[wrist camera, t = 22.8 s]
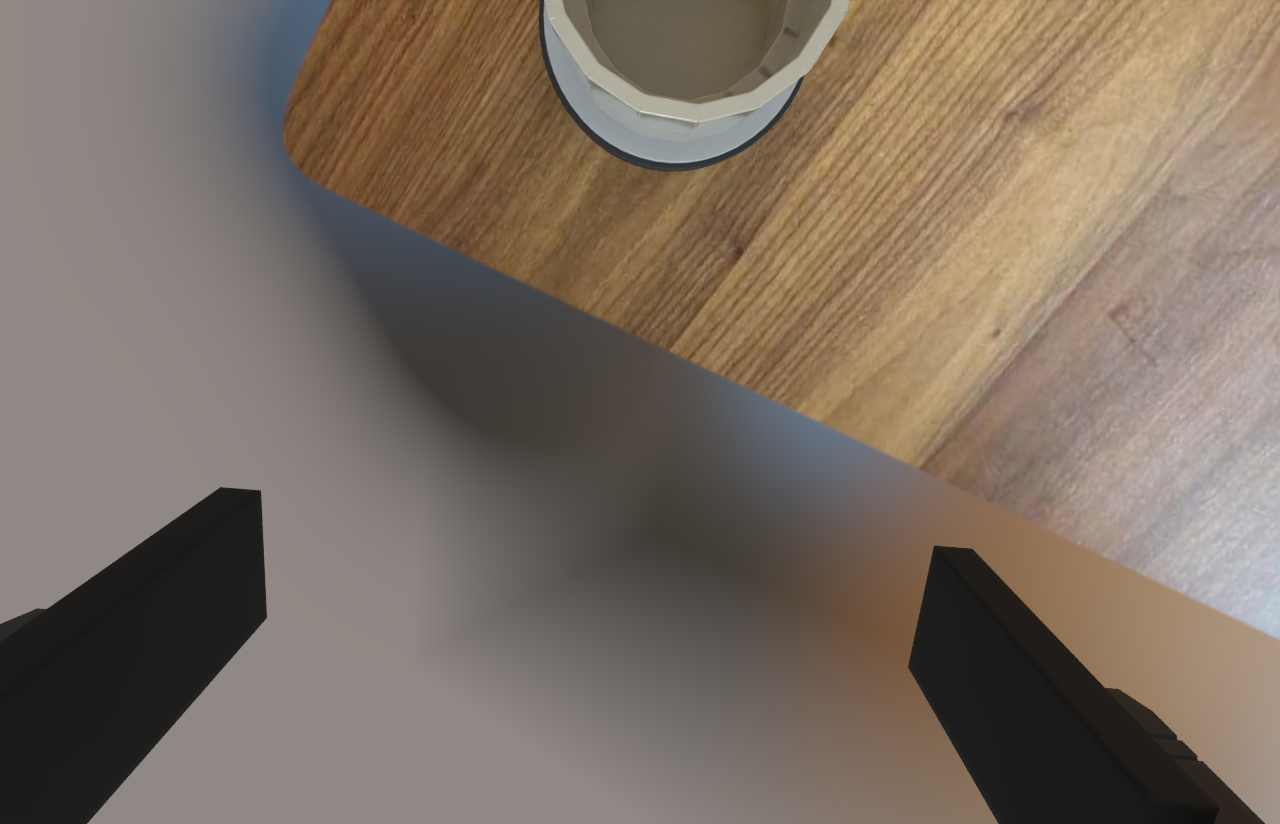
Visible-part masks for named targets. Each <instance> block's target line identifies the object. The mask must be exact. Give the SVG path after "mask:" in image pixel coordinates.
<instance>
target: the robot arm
mask: <svg viewBox="0 0 1280 824" xmlns="http://www.w3.org/2000/svg"><path fill="white" fill-rule="evenodd" d="M266 611H267V610H266V589H265V568H264V546H263V525H262V503H261V491H259V490H246V489H235V488H223V487H220V488H219V489H217V490H216V491H215V492H213V493H212V494H210V495H209V496H208V497H206V498H205V499H203V500H202V501H200V502H199V503H198V504H196V505H195V506H193V507H192V508H190V509H189V510H187V511H186V512H185V513H183V514H182V515H180V516H179V517H178V518H176V519H175V520H173V521H172V522H170V523H169V524H168V525H166V526H165V527H163V528H162V529H160V530H159V531H158V532H156V533H155V534H153V535H152V536H150V537H149V538H148V539H146V540H145V541H143V542H142V543H141V544H139V545H138V546H136V547H135V548H134V549H132V550H131V551H129V552H128V553H126V554H125V555H124V556H122V557H121V558H119V559H118V560H116V561H115V562H114V563H112V564H111V565H109V566H108V567H106V568H105V569H103V570H102V571H101V572H99V573H98V574H97V575H95V576H94V577H92V578H91V579H89V580H88V581H86V582H85V583H84V584H82V585H81V586H79V587H78V588H76V589H75V590H74V591H72V592H71V593H70V594H68V595H66V596H65V597H64V598H62V599H61V600H59V601H58V602H57V603H55V604H54V605H52V606H51V607H49V608H48V609H35V610H33V611H30V612H28V613H26V614H23V615H21V616H18V617H16V618H14V619H11V620H9V621H7V622H4V623H2V624H0V824H87V823H88V822H89V821H90V820H91V818H92V817H93V816H94V815H95V814H96V813H97V812H98V810H99V809H100V808H101V807H102V806H103V805H104V803H106V801H107V800H108V799H109V798H110V797H111V796H112V794H113V793H114V792H115V791H116V790H117V788H119V787H120V785H121V784H122V783H123V782H124V781H125V780H126V778H127V777H128V776H129V775H130V774H131V773H132V772H133V770H134V769H135V768H136V767H137V766H138V765H139V764H140V762H141V761H142V760H143V759H144V758H145V757H146V756H147V754H148V753H149V752H150V751H151V750H152V749H153V748H154V746H155V745H156V744H157V743H158V742H159V741H160V740H161V738H162V737H163V736H164V735H165V734H166V733H167V732H168V730H169V729H170V728H171V727H172V726H173V725H174V724H175V722H176V721H177V720H178V719H179V718H180V717H181V716H182V714H183V713H184V712H185V711H186V710H187V709H188V707H189V706H190V705H191V704H192V703H193V702H194V701H195V700H196V698H197V697H198V696H199V695H200V694H201V693H202V691H203V690H204V689H205V688H206V687H207V686H208V685H209V683H210V682H211V681H212V680H213V679H214V678H215V677H216V675H217V674H218V673H219V672H220V670H222V669H223V667H224V666H225V665H226V664H227V663H228V662H229V661H230V659H231V658H232V657H233V656H234V655H235V654H236V653H237V651H238V650H239V649H240V648H241V647H242V645H244V643H245V642H246V641H247V640H248V639H249V638H250V636H251V635H252V634H253V633H254V632H255V631H256V630H257V628H258V627H259V626H260V625H261V624H262V623H263V622H264V621H265V619H266V618H267V612H266ZM908 668H909V670H910V671H911V673H912V675H913V676H914V678H915V680H916V681H917V683H918V685H919V687H920V688H921V690H922V692H923V693H924V695H925V697H926V699H927V701H928V702H929V704H930V706H931V708H932V709H933V711H934V713H935V714H936V716H937V718H938V720H939V721H940V723H941V725H942V727H943V728H944V730H945V732H946V734H947V735H948V737H949V739H950V740H951V742H952V744H953V746H954V747H955V749H956V751H957V753H958V754H959V756H960V758H961V759H962V761H963V763H964V765H965V766H966V768H967V770H968V772H969V773H970V775H971V777H972V778H973V780H974V782H975V784H976V785H977V787H978V788H979V790H980V792H981V794H982V796H983V798H984V799H985V801H986V803H987V804H988V806H989V808H990V810H991V811H992V813H993V815H994V817H995V818H996V820H997V822H998V823H999V824H1265V823H1264V822H1263V821H1262V820H1261V819H1260V818H1259V817H1258V816H1257V815H1256V814H1255V813H1254V812H1253V811H1252V810H1251V809H1250V808H1249V807H1248V806H1247V805H1246V804H1245V803H1244V802H1243V801H1242V800H1241V799H1240V798H1239V797H1238V796H1237V795H1236V794H1235V793H1234V792H1233V791H1232V790H1231V789H1230V788H1229V787H1227V785H1226V784H1225V783H1224V782H1223V781H1222V780H1221V779H1220V778H1219V777H1218V776H1217V775H1216V774H1215V773H1214V772H1213V771H1212V770H1211V769H1209V767H1207V765H1206V764H1205V763H1204V762H1203V761H1198V759H1197V755H1196V754H1195V753H1194V752H1193V751H1192V750H1190V748H1189V747H1188V746H1187V745H1186V744H1185V743H1184V742H1182V741H1180V740H1177V735H1176V734H1175V733H1174V732H1172V731H1171V729H1170V728H1169V727H1168V726H1167V725H1165V724H1164V722H1163V721H1162V720H1161V719H1159V717H1157V715H1156V714H1155V713H1154V712H1153V711H1151V710H1150V709H1148V708H1147V707H1145V706H1144V705H1142V704H1141V703H1139V702H1137V701H1136V700H1134V699H1133V698H1131V697H1130V696H1128V695H1127V694H1125V693H1124V692H1122V691H1121V690H1119V689H1112V688H1104V687H1103V685H1101V683H1100V682H1099V681H1098V680H1097V679H1096V678H1095V677H1094V676H1093V675H1092V674H1091V673H1090V672H1089V671H1088V670H1087V669H1086V668H1085V667H1084V665H1083V664H1081V662H1079V660H1078V659H1077V658H1076V657H1075V656H1074V655H1073V654H1072V653H1071V652H1070V651H1069V650H1068V649H1067V648H1066V647H1065V646H1064V644H1063V643H1062V642H1061V641H1060V640H1059V639H1058V638H1057V637H1056V636H1055V635H1054V634H1053V633H1052V632H1051V631H1050V630H1049V629H1048V628H1047V627H1046V626H1045V625H1044V624H1043V623H1042V621H1040V620H1039V618H1038V617H1037V616H1036V615H1035V614H1034V613H1033V612H1032V611H1031V610H1030V609H1029V608H1028V607H1027V606H1026V605H1025V604H1024V603H1023V601H1022V600H1021V599H1020V598H1019V597H1018V596H1017V595H1016V594H1015V593H1014V592H1013V591H1012V590H1011V589H1010V588H1009V587H1008V586H1007V585H1006V584H1005V583H1004V582H1003V581H1002V580H1001V579H1000V577H999V576H998V575H997V574H996V573H995V572H994V571H993V570H992V569H991V568H990V567H989V566H988V565H987V564H986V563H985V562H984V561H983V560H982V559H981V558H980V556H979V555H977V553H976V552H975V551H974V550H973V549H968V548H956V547H943V546H934V549H933V553H932V558H931V563H930V567H929V572H928V577H927V581H926V586H925V591H924V595H923V601H922V605H921V609H920V614H919V619H918V623H917V628H916V633H915V637H914V642H913V647H912V652H911V657H910V661H909V665H908Z"/></svg>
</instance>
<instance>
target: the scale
mask: <svg viewBox="0 0 1280 824" xmlns="http://www.w3.org/2000/svg"><path fill="white" fill-rule="evenodd" d="M539 29H540V41H541V47H542V52H543V58H544V61H545V65H546V68H547V71H548V74H549V77H550V80H551V82H552V84H553V86H554V89H555V91H556V93H557V95H558V97H559V99H560V100H561V102H562V104H563V105H564V107H565V109H566V110H567V112H568V113H569V114H570V115H571V117H572V118H573V119H574V120H575V122H576V123H577V124H578V126H579V127H580V128H581V129H582V130H583V131H584V132H585V133H586V134H587V135H588V136H589V137H590V138H591V139H592V140H593V141H594V142H595V143H597V144H598V145H599V146H600V147H602V148H603V149H604V150H606V151H607V152H609V153H611V154H612V155H614V156H616V157H618V158H619V159H621V160H623V161H626V162H628V163H631V164H633V165H636V166H639V167H643V168H647V169H651V170H659V171H688V170H694V169H700V168H703V167H707V166H710V165H713V164H716V163H719V162H721V161H724V160H726V159H728V158H730V157H732V156H734V155H736V154H738V153H740V152H742V151H743V150H745V149H746V148H748V147H749V146H751V145H753V144H754V143H755V142H756V141H757V140H759V139H760V138H761V137H762V136H763V135H765V134H766V133H767V132H768V131H769V130H770V129H771V128H772V127H773V126H774V125H775V123H776V122H777V121H778V120H779V119H780V118H781V116H782V115H783V114H784V112H785V111H786V110H787V108H788V107H789V105H790V104H791V102H792V100H793V99H794V97H795V95H796V93H797V91H798V90H799V88H800V86H801V83H802V81H803V78H804V76H805V75H804V76H802V77H801V78H800V79H798V80H797V81H795V82H794V83H793V84H791V85H790V86H789V87H787V88H786V89H785V90H783V91H782V92H781V93H779V94H778V95H776V96H775V97H774V98H772V99H771V100H770V101H768V102H767V103H766V104H764V105H763V106H762V107H760V108H759V109H757V110H756V111H755V112H753V113H752V114H750V115H749V116H747V117H746V118H745V119H743V120H742V121H740V122H739V123H738V124H736V125H735V126H733V127H732V128H731V129H729V130H728V131H726V132H724V133H721V134H716V135H712V136H708V137H704V138H700V139H696V140H691V141H687V142H680V143H679V142H674V141H668V140H663V139H657V138H652V137H646V136H641V135H638V134H636V133H634V132H633V131H631V130H630V129H628V128H627V127H625V126H624V125H622V124H621V123H619V122H618V121H616V120H615V119H613V118H612V117H610V116H609V115H607V114H606V113H604V112H603V111H601V110H600V109H599V108H598V106H597V105H596V103H595V102H594V100H593V99H592V97H591V96H590V94H589V93H588V91H587V90H586V88H585V87H584V85H583V84H582V83H581V81H580V80H579V78H578V77H577V75H576V74H575V72H574V70H573V68H572V66H571V64H570V62H569V60H568V58H567V56H566V54H565V52H564V50H563V48H562V46H561V44H560V42H559V40H558V38H557V36H556V34H555V32H554V30H553V28H552V26H551V24H550V21H549V19H548V16H547V11H546V7H545V3H544V0H540V10H539Z"/></svg>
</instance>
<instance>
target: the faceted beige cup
mask: <svg viewBox="0 0 1280 824" xmlns="http://www.w3.org/2000/svg"><path fill="white" fill-rule="evenodd" d="M849 2H850V0H544V3H545V7H546V11H547V16H548V19H549V21H550V24H551V26H552V28H553V30H554V32H555V34H556V36H557V38H558V40H559V42H560V44H561V46H562V48H563V50H564V52H565V54H566V56H567V58H568V60H569V62H570V64H571V66H572V68H573V70H574V72H575V74H576V75H577V77H578V78H579V80H580V81H581V83H582V84H583V85H584V87H585V88H586V90H587V91H588V93H589V94H590V96H591V97H592V99H593V100H594V102H595V103H596V105H597V106H598V108H599V109H600V110H601V111H603V112H604V113H606V114H607V115H609V116H610V117H612V118H613V119H615V120H616V121H618V122H619V123H621V124H622V125H624V126H625V127H627V128H628V129H630V130H631V131H633V132H634V133H636V134H638V135H641V136H646V137H652V138H657V139H663V140H668V141H674V142H679V143H680V142H687V141H691V140H696V139H700V138H704V137H708V136H712V135H716V134H721V133H724V132H726V131H728V130H729V129H731V128H732V127H733V126H735V125H736V124H738V123H739V122H740V121H742V120H743V119H745V118H746V117H747V116H749V115H750V114H752V113H753V112H755V111H756V110H757V109H759V108H760V107H762V106H763V105H764V104H766V103H767V102H768V101H770V100H771V99H772V98H774V97H775V96H776V95H778V94H779V93H781V92H782V91H783V90H785V89H786V88H787V87H789V86H790V85H791V84H793V83H794V82H795V81H797V80H798V79H800V78H801V77H802V76H804V75H805V74H806V73H808V72H809V71H810V69H812V67H813V66H814V64H815V62H816V61H817V59H818V58H819V56H820V54H821V53H822V51H823V50H824V48H825V47H826V45H827V43H828V42H829V40H830V39H831V37H832V36H833V34H834V32H835V31H836V29H837V28H838V26H839V25H840V23H841V21H842V20H843V18H844V17H845V15H846V12H847V11H848V6H849Z"/></svg>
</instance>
